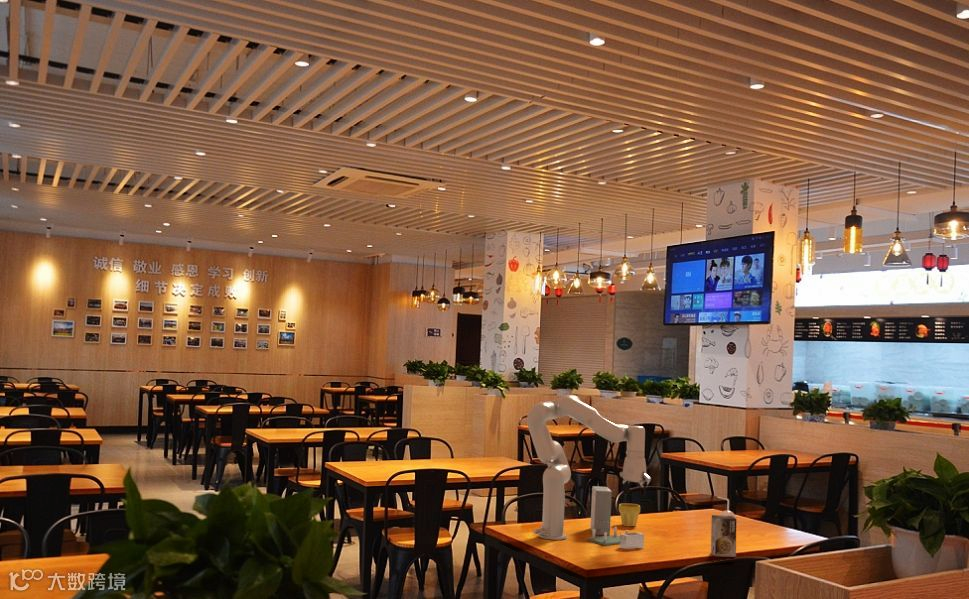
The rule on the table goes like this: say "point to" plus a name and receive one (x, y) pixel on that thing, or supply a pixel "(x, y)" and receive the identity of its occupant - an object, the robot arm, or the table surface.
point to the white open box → (632, 540)
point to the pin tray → (606, 538)
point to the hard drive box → (601, 510)
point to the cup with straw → (727, 512)
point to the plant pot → (629, 514)
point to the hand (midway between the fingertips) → (634, 494)
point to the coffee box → (723, 536)
